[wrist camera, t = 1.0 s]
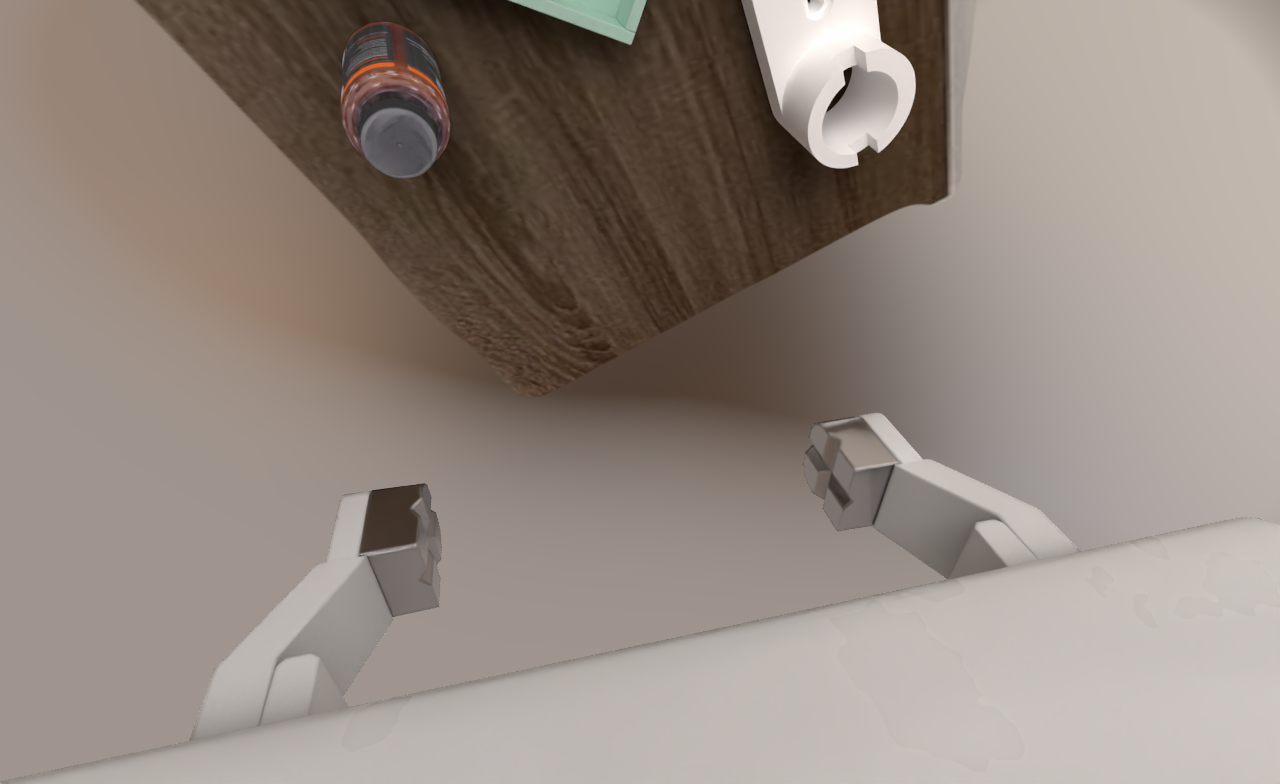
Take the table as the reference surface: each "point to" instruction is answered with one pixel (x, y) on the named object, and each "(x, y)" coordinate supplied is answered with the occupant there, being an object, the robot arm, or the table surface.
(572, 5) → the organiser
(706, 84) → the table surface
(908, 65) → the bracket
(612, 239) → the table surface
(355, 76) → the supplement bottle
